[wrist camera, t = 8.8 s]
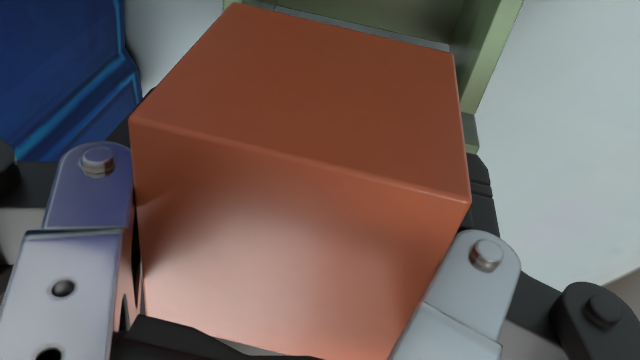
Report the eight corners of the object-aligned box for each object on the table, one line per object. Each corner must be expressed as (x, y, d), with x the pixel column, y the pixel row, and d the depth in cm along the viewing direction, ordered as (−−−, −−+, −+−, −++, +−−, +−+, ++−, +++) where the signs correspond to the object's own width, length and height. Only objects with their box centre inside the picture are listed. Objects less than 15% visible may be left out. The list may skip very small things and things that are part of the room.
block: (221, 173, 14) (144, 321, 10) (232, -1, 11) (124, 117, 7) (393, 215, 14) (382, 380, 10) (454, 52, 11) (475, 200, 7)
